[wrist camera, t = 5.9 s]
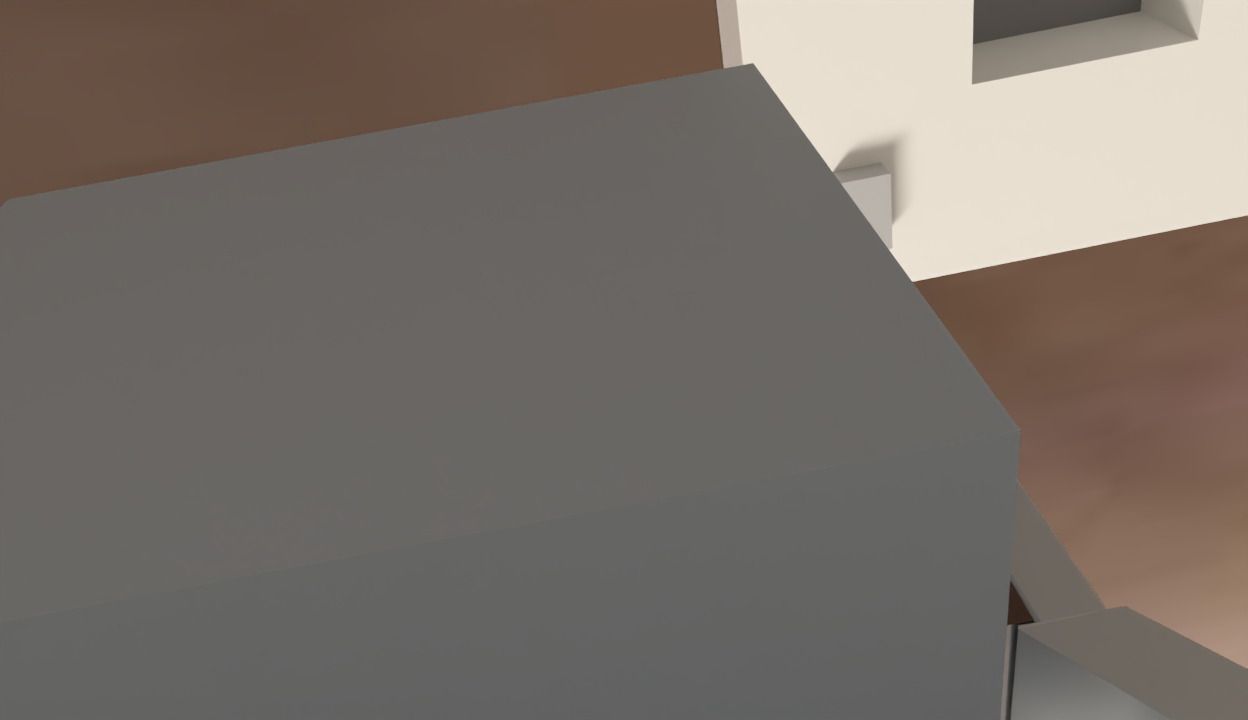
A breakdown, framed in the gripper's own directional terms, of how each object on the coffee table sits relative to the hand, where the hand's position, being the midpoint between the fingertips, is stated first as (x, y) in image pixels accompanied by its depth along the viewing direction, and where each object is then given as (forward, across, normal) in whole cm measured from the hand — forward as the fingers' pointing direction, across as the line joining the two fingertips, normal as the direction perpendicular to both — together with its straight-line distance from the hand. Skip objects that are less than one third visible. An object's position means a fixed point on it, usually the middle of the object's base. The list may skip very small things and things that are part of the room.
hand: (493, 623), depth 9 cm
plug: (+5, 0, +2) cm, 5 cm away
